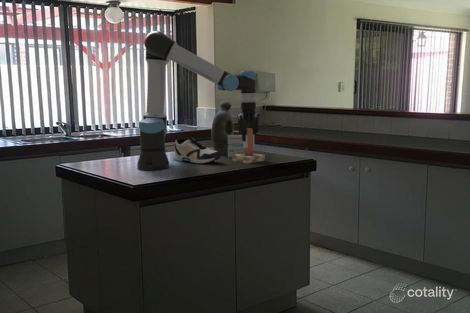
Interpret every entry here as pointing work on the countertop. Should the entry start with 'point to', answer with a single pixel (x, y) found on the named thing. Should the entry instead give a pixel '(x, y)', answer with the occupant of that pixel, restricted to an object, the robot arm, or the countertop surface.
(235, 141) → the ink box
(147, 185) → the countertop surface
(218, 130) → the sculpture
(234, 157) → the socket
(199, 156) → the running shoe
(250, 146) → the peg
